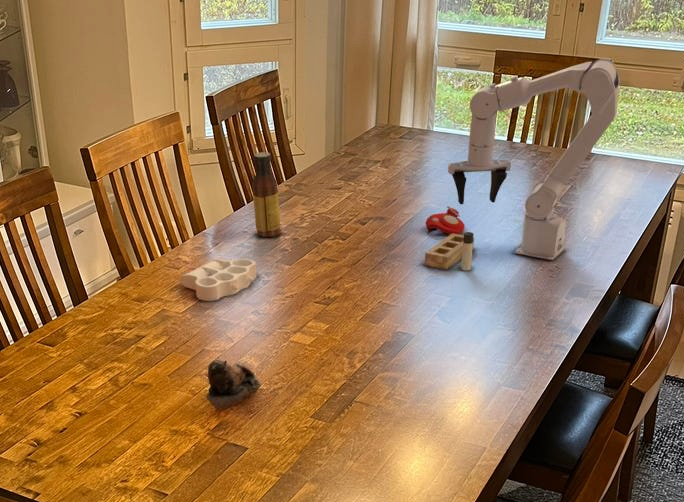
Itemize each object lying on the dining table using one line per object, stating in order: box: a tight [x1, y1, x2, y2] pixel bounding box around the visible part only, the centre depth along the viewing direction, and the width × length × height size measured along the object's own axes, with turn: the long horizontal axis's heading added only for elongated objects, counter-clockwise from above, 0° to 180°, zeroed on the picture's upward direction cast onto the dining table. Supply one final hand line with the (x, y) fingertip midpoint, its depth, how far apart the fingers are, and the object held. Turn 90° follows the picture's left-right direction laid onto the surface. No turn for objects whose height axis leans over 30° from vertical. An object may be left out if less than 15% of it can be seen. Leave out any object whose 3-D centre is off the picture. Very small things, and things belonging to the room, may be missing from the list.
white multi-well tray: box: [179, 258, 257, 302], centre depth 226 cm, size 3×18×15 cm
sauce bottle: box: [252, 151, 282, 238], centre depth 247 cm, size 7×6×20 cm
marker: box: [460, 231, 475, 271], centre depth 229 cm, size 2×2×8 cm
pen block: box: [424, 233, 475, 271], centre depth 237 cm, size 6×15×3 cm, turn 147°
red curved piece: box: [425, 206, 466, 235], centre depth 252 cm, size 12×4×10 cm
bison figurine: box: [205, 359, 262, 410], centre depth 180 cm, size 12×7×10 cm, turn 150°
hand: (476, 202), depth 238 cm, fingers open, 7 cm apart
